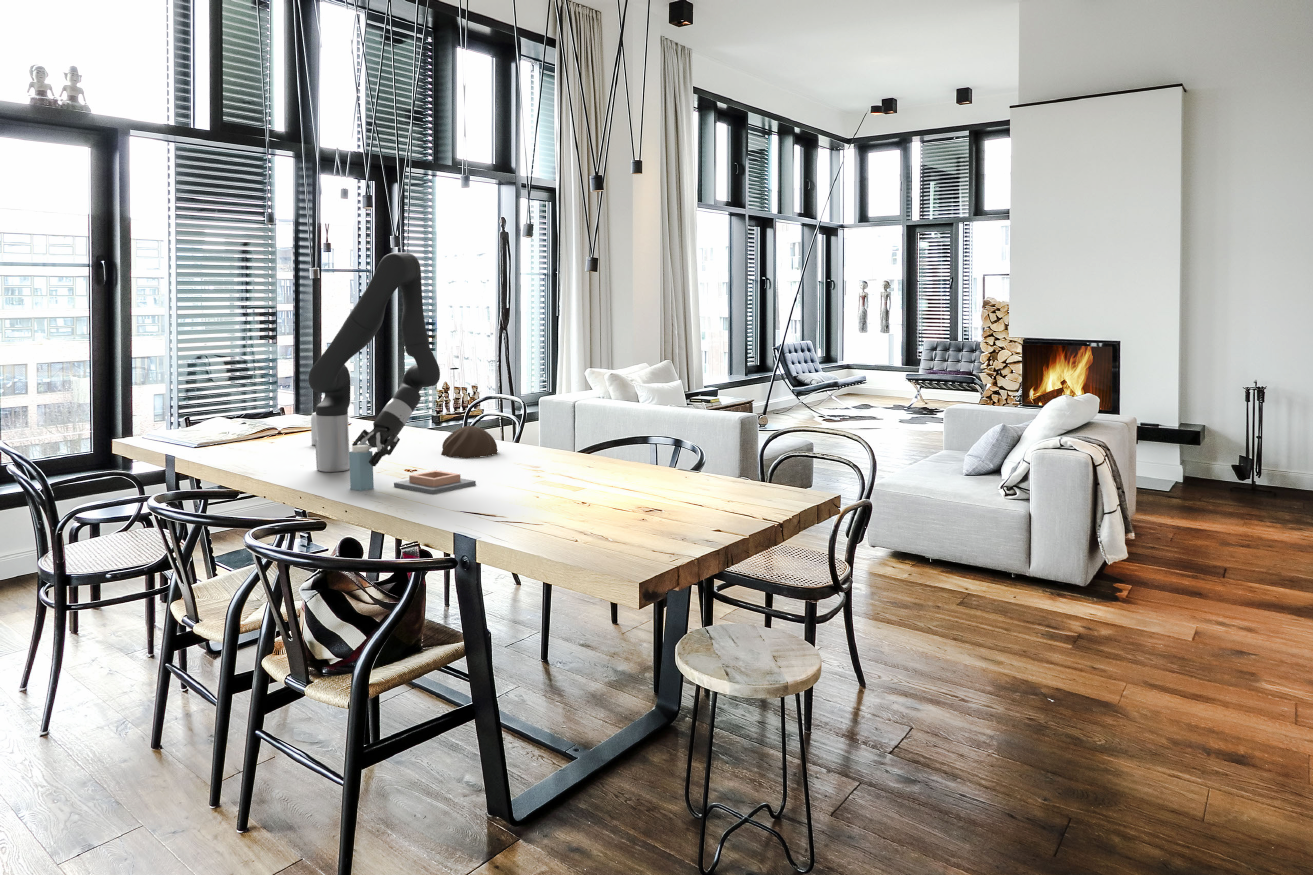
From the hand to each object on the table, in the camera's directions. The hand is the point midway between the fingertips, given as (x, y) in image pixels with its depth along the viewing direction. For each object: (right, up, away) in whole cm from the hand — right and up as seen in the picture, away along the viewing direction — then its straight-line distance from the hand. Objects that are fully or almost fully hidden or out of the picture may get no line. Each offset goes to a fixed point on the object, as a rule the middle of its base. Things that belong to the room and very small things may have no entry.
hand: (361, 463), depth 249 cm
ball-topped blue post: (0, -7, +1) cm, 7 cm away
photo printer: (-38, +4, +78) cm, 87 cm away
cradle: (+19, -7, +6) cm, 21 cm away
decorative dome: (+17, +1, +63) cm, 65 cm away
